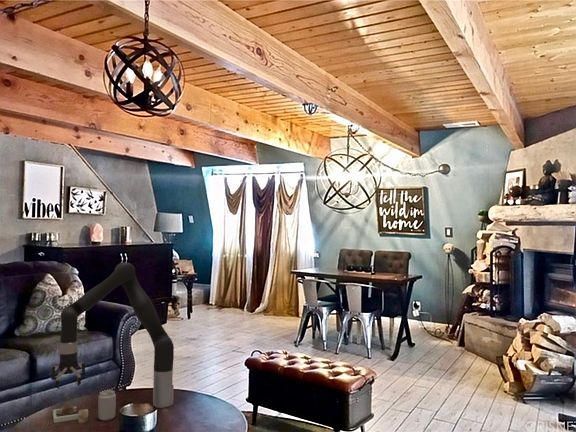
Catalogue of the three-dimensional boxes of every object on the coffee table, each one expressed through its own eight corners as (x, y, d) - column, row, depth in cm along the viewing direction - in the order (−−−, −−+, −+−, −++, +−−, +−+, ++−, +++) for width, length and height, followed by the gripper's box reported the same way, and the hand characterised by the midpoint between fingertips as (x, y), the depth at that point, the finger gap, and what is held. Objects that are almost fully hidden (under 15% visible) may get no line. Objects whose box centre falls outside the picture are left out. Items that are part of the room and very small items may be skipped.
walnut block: (72, 414, 227) (72, 404, 227) (72, 417, 223) (73, 407, 223) (61, 415, 225) (62, 405, 225) (62, 419, 221) (62, 409, 221)
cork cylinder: (87, 419, 221) (87, 408, 221) (88, 422, 217) (88, 411, 217) (77, 421, 219) (78, 409, 219) (78, 424, 215) (79, 412, 215)
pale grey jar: (109, 422, 218) (110, 395, 219) (94, 420, 220) (95, 393, 220) (118, 415, 226) (119, 389, 226) (104, 414, 227) (104, 388, 227)
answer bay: (76, 410, 231) (76, 406, 231) (78, 419, 221) (78, 414, 221) (52, 414, 226) (52, 409, 226) (53, 422, 216) (54, 418, 216)
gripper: (84, 348, 231) (83, 382, 231) (51, 351, 225) (50, 386, 224) (86, 351, 225) (85, 386, 224) (51, 355, 218) (51, 391, 218)
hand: (68, 386), depth 224 cm, fingers open, 8 cm apart
